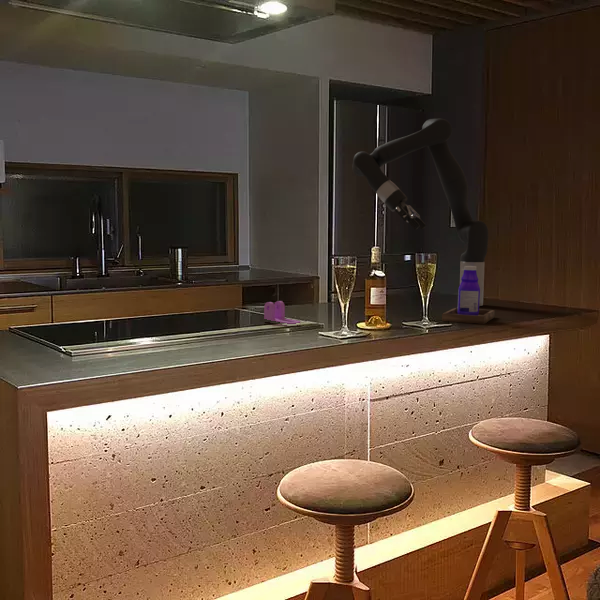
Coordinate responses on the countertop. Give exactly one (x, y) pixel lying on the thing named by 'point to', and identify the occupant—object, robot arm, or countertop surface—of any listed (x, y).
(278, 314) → the bracket
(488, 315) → the walnut tray
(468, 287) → the bottle
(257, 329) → the countertop surface
